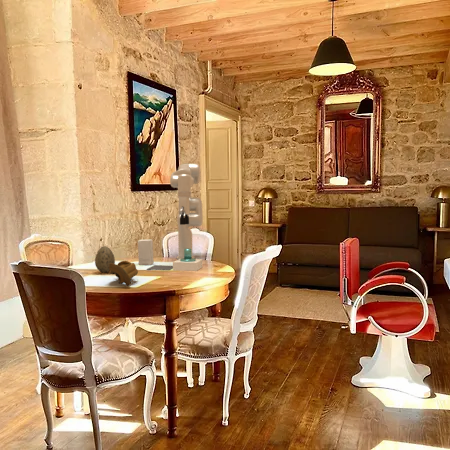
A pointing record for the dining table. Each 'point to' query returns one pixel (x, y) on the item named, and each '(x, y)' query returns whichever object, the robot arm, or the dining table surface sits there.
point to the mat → (160, 267)
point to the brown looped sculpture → (124, 271)
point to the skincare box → (145, 252)
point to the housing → (187, 265)
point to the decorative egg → (104, 259)
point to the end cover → (188, 256)
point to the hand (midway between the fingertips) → (184, 224)
